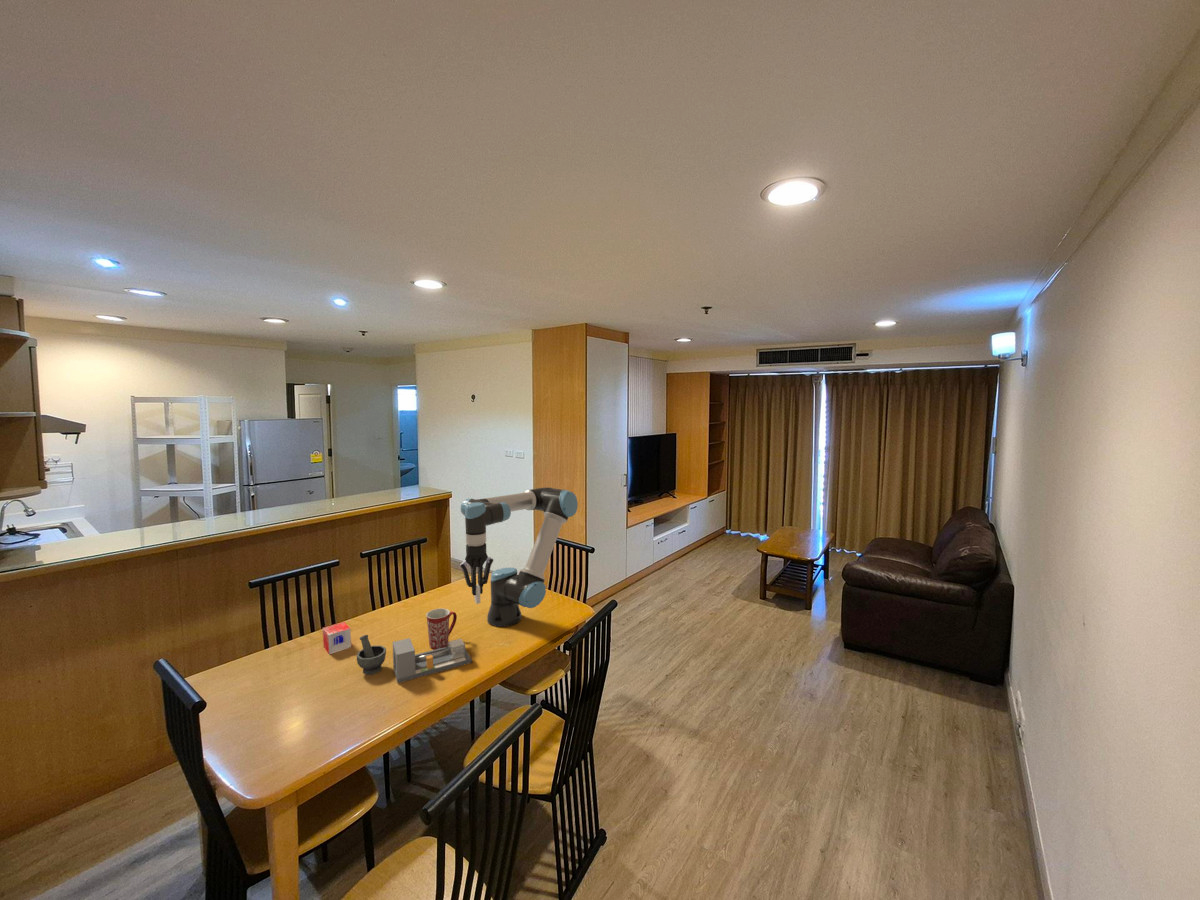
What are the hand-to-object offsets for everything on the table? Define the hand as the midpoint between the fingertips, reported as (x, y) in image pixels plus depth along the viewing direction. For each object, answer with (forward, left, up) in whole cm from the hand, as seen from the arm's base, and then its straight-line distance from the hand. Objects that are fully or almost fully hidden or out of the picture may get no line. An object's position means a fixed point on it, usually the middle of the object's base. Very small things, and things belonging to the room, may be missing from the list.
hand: (477, 602), depth 183 cm
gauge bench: (+17, +1, -21) cm, 27 cm away
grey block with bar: (+16, +2, -19) cm, 25 cm away
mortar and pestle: (+37, -8, -21) cm, 44 cm away
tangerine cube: (+19, +4, -19) cm, 27 cm away
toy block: (+47, -32, -21) cm, 61 cm away
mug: (+10, -14, -21) cm, 27 cm away
